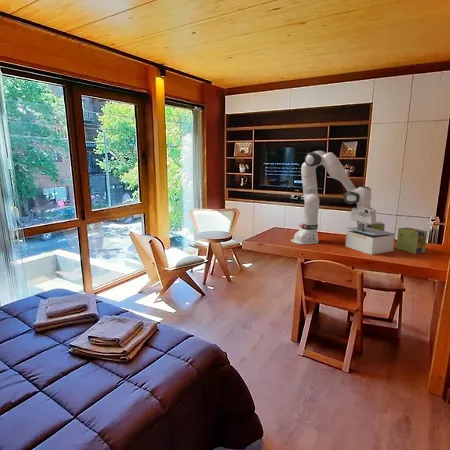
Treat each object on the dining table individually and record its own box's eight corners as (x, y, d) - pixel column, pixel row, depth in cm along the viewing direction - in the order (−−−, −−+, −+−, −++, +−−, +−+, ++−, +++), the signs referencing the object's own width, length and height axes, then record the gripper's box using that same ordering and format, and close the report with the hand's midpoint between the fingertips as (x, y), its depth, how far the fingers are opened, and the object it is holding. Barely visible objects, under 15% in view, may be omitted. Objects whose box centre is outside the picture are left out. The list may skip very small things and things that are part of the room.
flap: (373, 235, 223) (374, 227, 222) (346, 228, 244) (347, 221, 243) (394, 234, 233) (396, 226, 232) (367, 228, 254) (368, 221, 253)
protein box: (416, 253, 228) (418, 232, 225) (395, 248, 241) (398, 228, 238) (425, 251, 233) (427, 230, 230) (404, 246, 246) (407, 226, 243)
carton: (371, 254, 226) (372, 238, 223) (345, 246, 247) (346, 231, 245) (393, 250, 235) (394, 234, 233) (366, 243, 256) (367, 228, 254)
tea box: (379, 238, 271) (380, 221, 268) (383, 241, 262) (385, 223, 259) (360, 238, 273) (361, 220, 270) (364, 241, 263) (365, 223, 260)
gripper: (348, 207, 239) (347, 225, 242) (371, 211, 221) (369, 231, 224) (355, 206, 242) (353, 225, 245) (378, 211, 224) (376, 230, 226)
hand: (361, 228), depth 234 cm, fingers open, 4 cm apart
